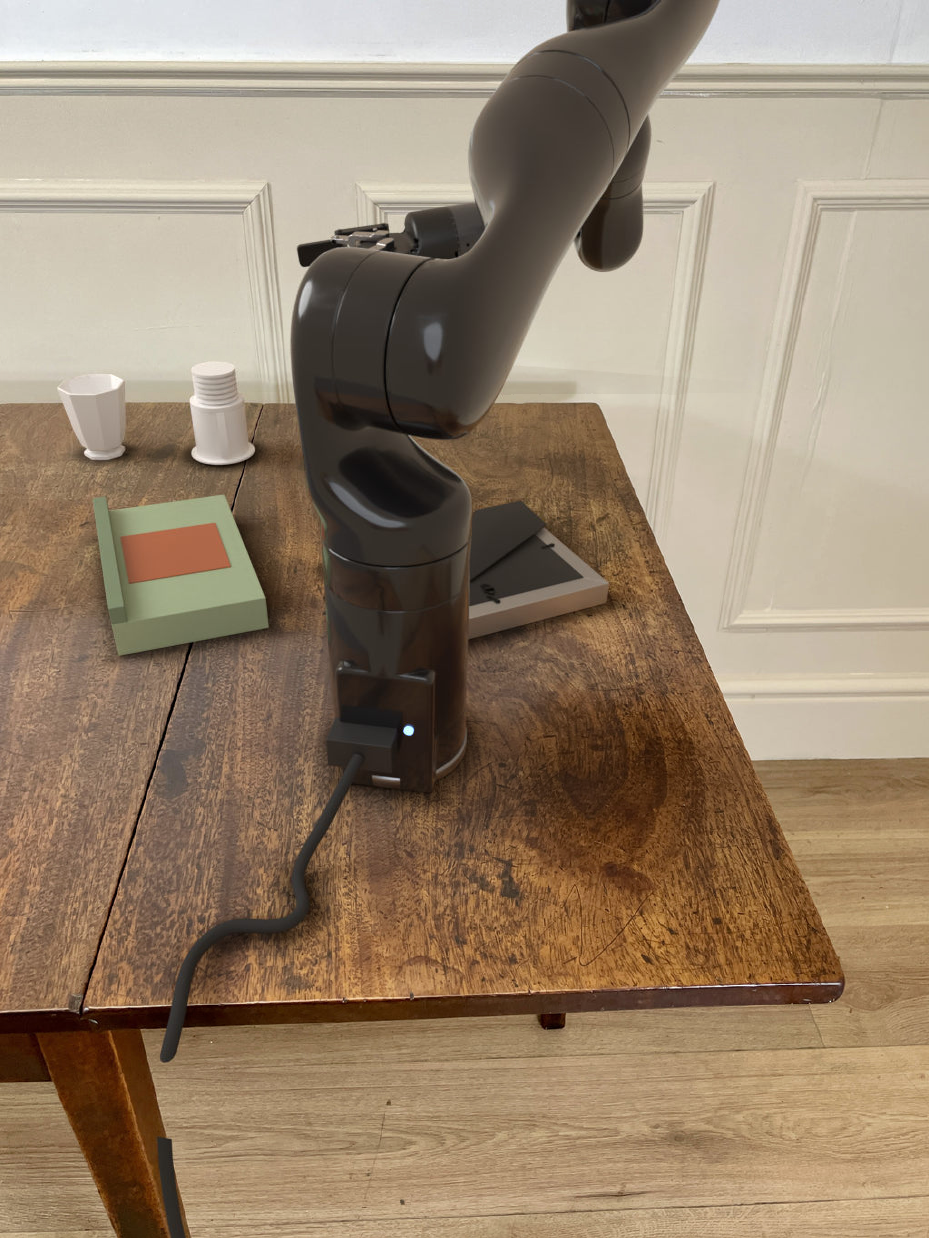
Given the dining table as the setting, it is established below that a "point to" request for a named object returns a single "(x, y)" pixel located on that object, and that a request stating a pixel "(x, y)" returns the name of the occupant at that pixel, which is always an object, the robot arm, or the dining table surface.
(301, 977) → the dining table surface
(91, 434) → the cup
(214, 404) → the downlight
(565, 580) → the picture frame
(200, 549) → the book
